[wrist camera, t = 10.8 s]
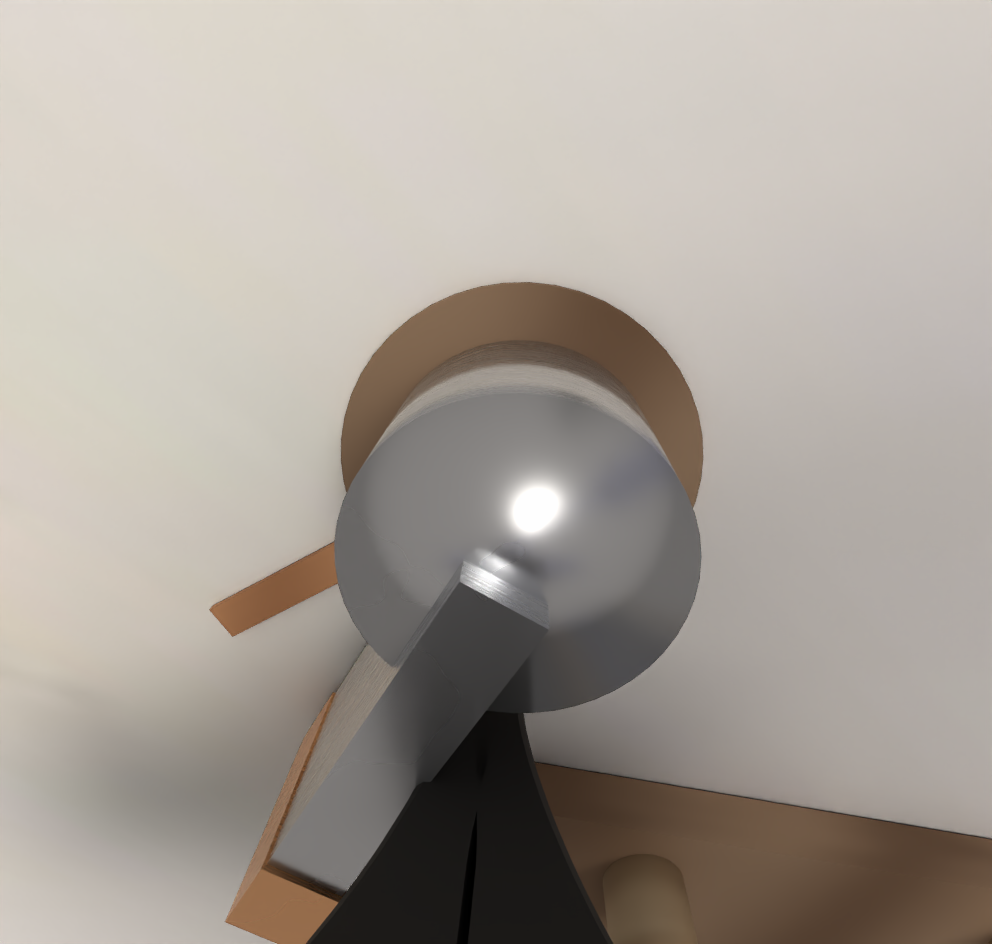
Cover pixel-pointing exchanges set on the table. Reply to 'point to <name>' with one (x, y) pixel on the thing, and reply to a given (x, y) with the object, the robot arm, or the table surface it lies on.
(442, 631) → the silver lever knob
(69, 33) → the table surface
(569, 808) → the walnut board
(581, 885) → the robot arm
